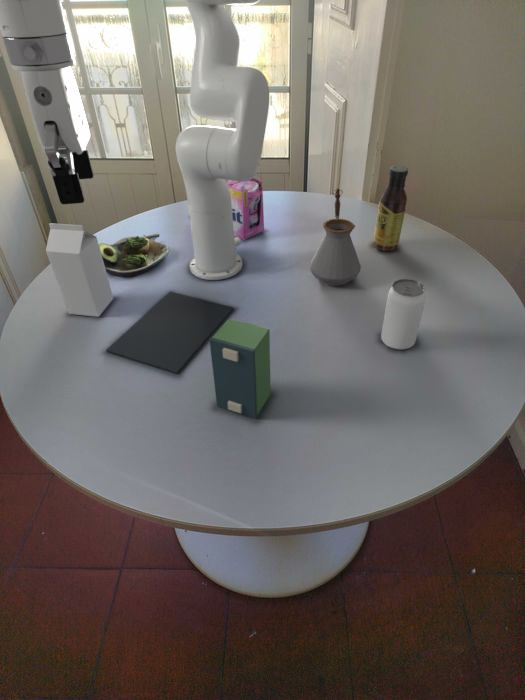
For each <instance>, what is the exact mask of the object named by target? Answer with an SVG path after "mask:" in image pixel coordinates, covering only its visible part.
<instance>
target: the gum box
mask: <svg viewBox="0 0 525 700" xmlns="http://www.w3.org/2000/svg"><path fill="white" fill-rule="evenodd" d="M225 181H226V183H227V185H228V187H229V190H230V194H231V202H232V217H233V231H234V237H239V238H240V239H241V240H243V241H245V240H247V239H250V238H252V237H254V236H256V235H258V234H260V233H263V232H264V231H265V221H264V220H265V218H264V216H265V213H264V192H263V189H264V188H263V181H262V180H259V179H257V178H255V177H254V178H253V179H251V180H250V181H246V182H240V181H232V180H226V179H225Z"/></svg>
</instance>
